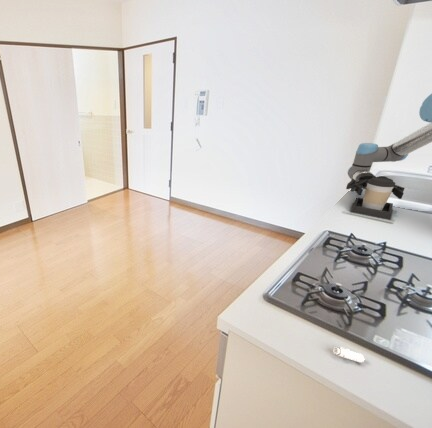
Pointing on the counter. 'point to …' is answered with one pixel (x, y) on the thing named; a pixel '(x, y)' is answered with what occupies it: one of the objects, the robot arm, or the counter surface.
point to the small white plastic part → (348, 354)
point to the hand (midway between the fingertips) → (380, 194)
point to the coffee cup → (377, 192)
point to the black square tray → (383, 213)
